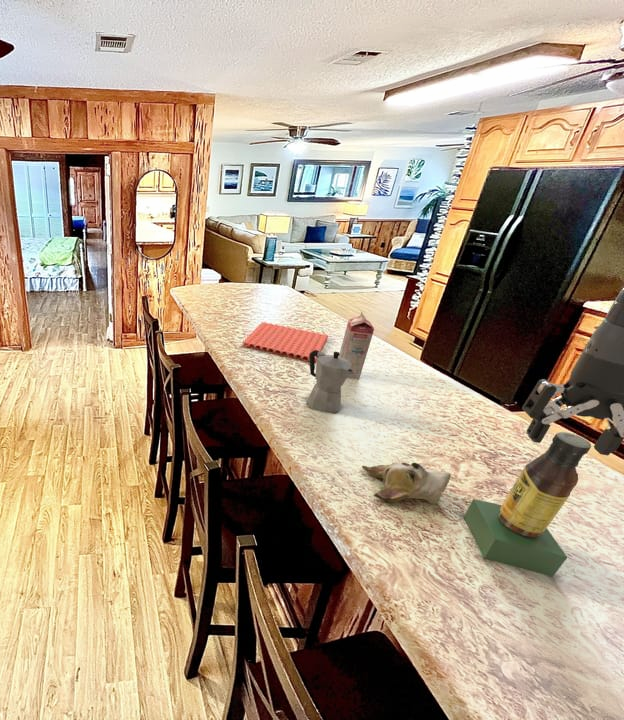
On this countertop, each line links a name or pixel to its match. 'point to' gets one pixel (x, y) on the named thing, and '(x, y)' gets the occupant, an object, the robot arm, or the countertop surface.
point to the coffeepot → (328, 380)
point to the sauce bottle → (544, 486)
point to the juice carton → (356, 343)
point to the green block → (512, 541)
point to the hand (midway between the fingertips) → (566, 445)
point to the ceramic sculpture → (409, 482)
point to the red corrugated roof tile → (285, 341)
